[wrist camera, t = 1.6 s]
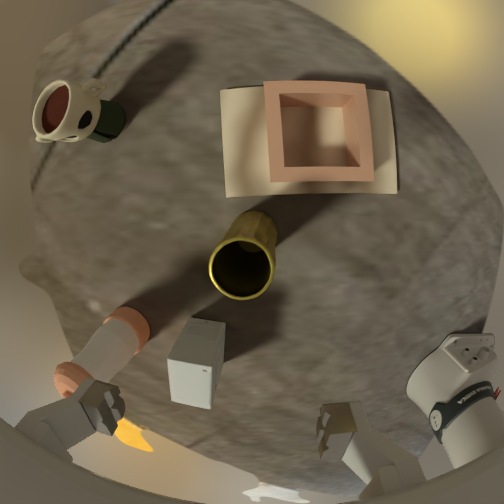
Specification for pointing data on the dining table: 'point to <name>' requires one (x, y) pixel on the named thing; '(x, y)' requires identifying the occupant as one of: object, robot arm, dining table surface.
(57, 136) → the character mug
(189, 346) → the small box
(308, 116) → the board
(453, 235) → the dining table surface
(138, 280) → the dining table surface
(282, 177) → the pink open box
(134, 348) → the pepper shaker
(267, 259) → the vase
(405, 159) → the dining table surface
